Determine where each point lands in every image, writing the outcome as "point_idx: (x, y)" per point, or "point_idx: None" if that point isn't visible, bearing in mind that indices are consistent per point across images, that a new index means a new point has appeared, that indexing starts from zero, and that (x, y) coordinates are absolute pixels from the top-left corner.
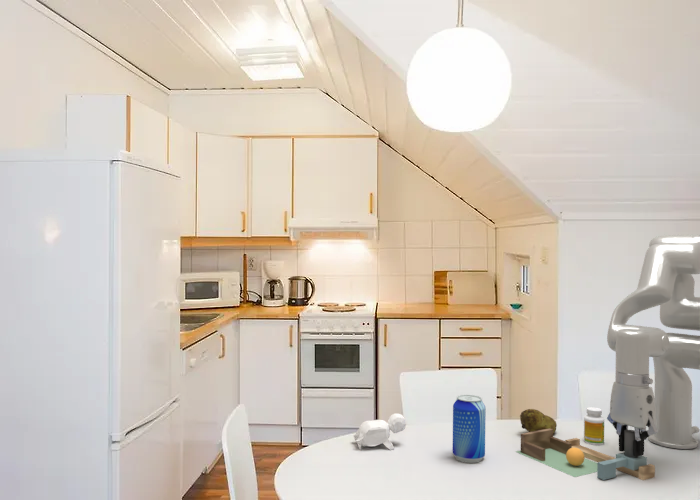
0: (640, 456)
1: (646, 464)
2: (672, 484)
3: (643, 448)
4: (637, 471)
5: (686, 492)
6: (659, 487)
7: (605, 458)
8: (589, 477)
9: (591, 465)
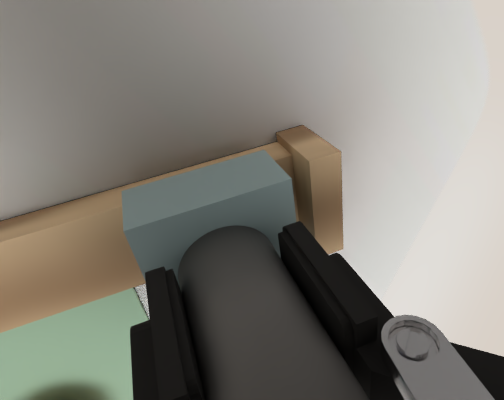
0: (261, 213)
1: (270, 158)
2: (395, 95)
3: (353, 278)
4: None
5: (471, 105)
6: (385, 185)
7: (35, 299)
8: None
9: (73, 351)
